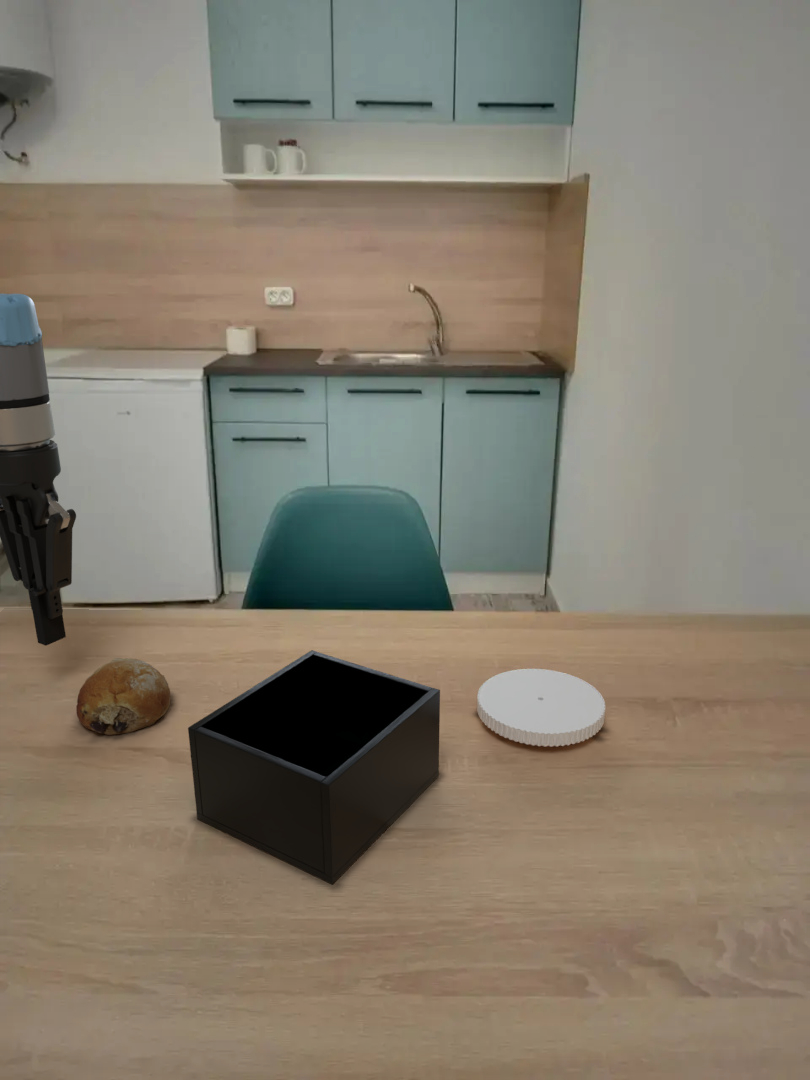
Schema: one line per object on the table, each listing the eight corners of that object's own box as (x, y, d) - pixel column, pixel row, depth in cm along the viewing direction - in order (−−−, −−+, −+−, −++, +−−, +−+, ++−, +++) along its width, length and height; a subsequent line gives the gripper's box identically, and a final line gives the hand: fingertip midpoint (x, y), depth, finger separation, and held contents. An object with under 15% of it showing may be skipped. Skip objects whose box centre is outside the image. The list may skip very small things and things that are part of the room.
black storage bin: (196, 819, 76) (187, 727, 73) (315, 730, 90) (311, 649, 87) (332, 885, 69) (328, 785, 65) (438, 776, 83) (440, 689, 79)
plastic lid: (463, 741, 88) (464, 721, 87) (490, 679, 101) (491, 661, 100) (597, 765, 84) (599, 743, 84) (608, 697, 97) (610, 678, 96)
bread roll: (181, 739, 95) (197, 671, 95) (112, 746, 86) (130, 670, 86) (121, 715, 100) (136, 650, 100) (50, 719, 91) (67, 648, 91)
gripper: (87, 442, 89) (115, 640, 97) (14, 430, 96) (45, 616, 104) (24, 456, 83) (59, 666, 91) (-49, 442, 90) (-11, 639, 98)
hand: (52, 639), depth 97 cm, fingers closed
